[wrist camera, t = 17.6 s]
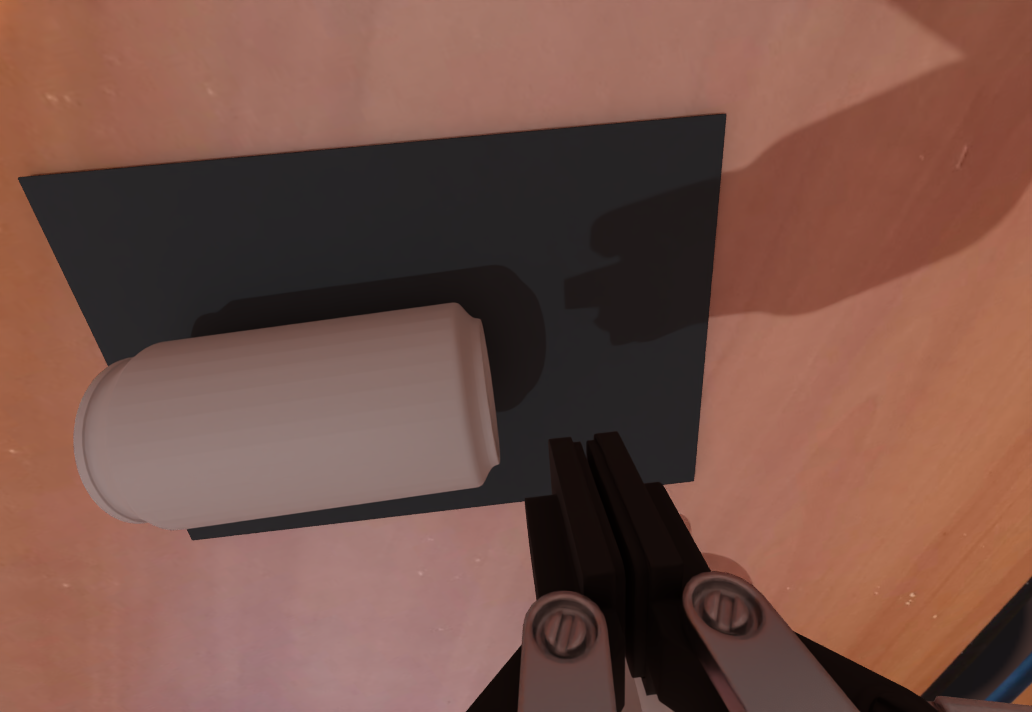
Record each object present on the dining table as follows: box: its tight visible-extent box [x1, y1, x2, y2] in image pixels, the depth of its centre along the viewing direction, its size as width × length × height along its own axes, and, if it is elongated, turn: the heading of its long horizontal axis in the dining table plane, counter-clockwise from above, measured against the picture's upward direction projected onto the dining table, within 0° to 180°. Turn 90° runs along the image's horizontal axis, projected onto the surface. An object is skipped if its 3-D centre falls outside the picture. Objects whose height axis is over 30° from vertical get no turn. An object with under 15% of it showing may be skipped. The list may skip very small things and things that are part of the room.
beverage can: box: [74, 303, 500, 530], centre depth 16 cm, size 6×6×12 cm
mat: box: [18, 114, 726, 540], centre depth 20 cm, size 24×16×1 cm, turn 95°
